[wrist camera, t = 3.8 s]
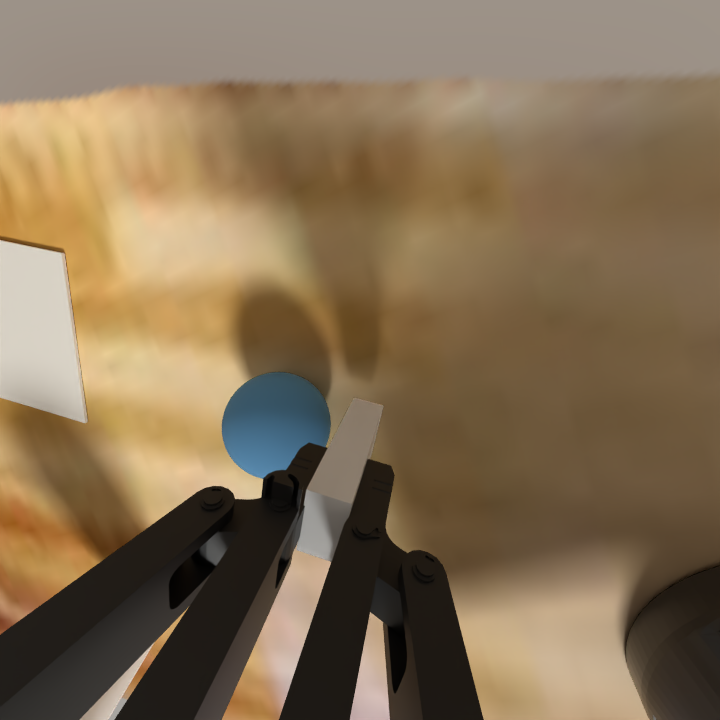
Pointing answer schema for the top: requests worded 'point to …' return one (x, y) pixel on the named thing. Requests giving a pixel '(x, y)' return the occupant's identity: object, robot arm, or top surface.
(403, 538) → the top surface
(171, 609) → the robot arm
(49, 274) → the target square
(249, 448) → the ball
